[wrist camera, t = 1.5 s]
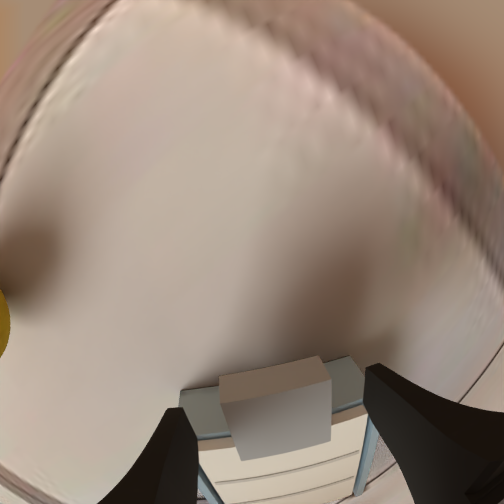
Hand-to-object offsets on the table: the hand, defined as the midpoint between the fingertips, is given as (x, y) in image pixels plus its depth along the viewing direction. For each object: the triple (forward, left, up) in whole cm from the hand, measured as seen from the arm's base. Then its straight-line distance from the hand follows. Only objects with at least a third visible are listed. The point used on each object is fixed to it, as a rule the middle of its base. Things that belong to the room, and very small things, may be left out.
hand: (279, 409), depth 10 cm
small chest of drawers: (-6, 0, -1) cm, 6 cm away
